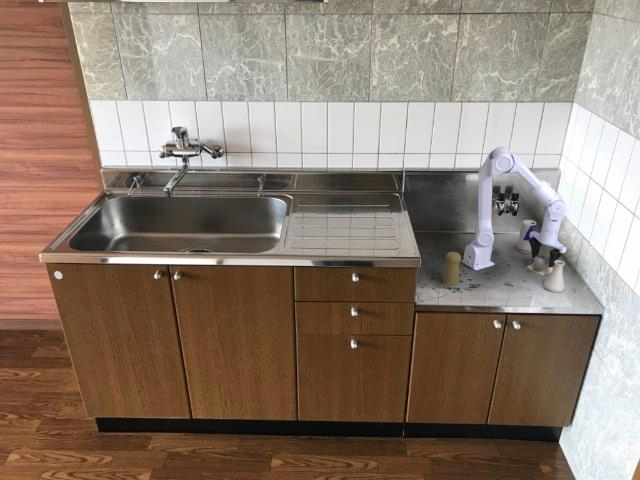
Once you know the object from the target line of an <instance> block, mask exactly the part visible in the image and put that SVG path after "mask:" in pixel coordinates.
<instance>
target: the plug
mask: <svg viewBox="0 0 640 480" xmlns="http://www.w3.org/2000/svg"><path fill="white" fill-rule="evenodd" d="M533 259H534V260H533V270H534V271H537V272H541V271H545V270H548V269H549V268H550V267H549V261H550V254H547V253H545V252H543V253H539V254H538V255H536V256H535V258H533ZM534 271H533V272H534Z"/></svg>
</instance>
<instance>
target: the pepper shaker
mask: <svg viewBox="0 0 640 480" xmlns="http://www.w3.org/2000/svg"><path fill="white" fill-rule="evenodd" d="M445 261H446V263H445V267H444V270H443V273H442V277H441V282H442V283H443V284H445V285H449V286H456V284H457V285H458V284H459V283H460V263H461V262H462V256H461V254H460V253H459V252H457V251H450V252H448V253H446V254H445Z"/></svg>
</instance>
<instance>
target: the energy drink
mask: <svg viewBox="0 0 640 480" xmlns="http://www.w3.org/2000/svg"><path fill="white" fill-rule="evenodd" d="M533 231H535V232H537V222H536V221H535V220H532V219H524V220H522V222H521V225H520V232H519V236H518V240H517V247H516V249H517V251H519V252H521V253H523V254H524V253H525V254H527V253H532V250H531V246H530V243H529V240H530V239H531V237H529V236H530V232H533Z"/></svg>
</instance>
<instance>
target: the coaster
mask: <svg viewBox="0 0 640 480" xmlns="http://www.w3.org/2000/svg"><path fill="white" fill-rule="evenodd" d="M533 264H534V263H533ZM533 264H532V263H531V264H530V265H527V266H526V268H527V269H529V270H531V271H532V272H535V274H538V275H540V276H541V277H543V276H546V275H550V273H551V272H552V270H553V268H554V267H551V268H549V269H548V270H545V271H541V272H537V271H534V270H533Z"/></svg>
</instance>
